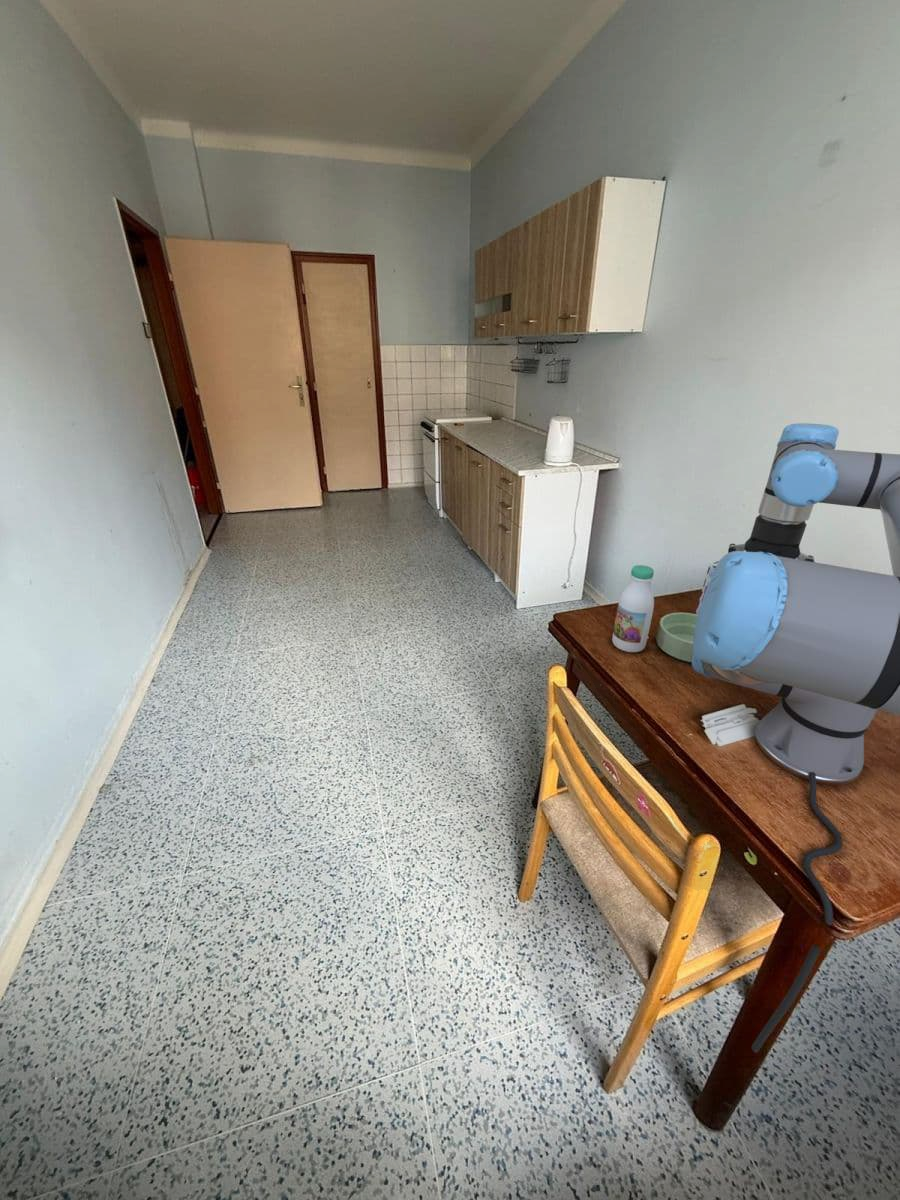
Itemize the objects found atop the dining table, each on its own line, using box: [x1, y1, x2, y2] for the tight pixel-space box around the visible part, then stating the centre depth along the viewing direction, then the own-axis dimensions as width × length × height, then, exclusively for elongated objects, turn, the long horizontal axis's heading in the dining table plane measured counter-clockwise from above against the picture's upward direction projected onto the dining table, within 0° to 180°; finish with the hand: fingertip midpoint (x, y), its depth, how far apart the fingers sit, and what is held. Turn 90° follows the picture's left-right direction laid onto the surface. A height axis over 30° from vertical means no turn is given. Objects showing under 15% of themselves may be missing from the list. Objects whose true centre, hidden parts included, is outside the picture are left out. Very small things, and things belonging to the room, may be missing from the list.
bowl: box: [655, 612, 698, 663], centre depth 111 cm, size 14×14×6 cm
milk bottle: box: [611, 564, 655, 653], centre depth 109 cm, size 8×8×20 cm
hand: (744, 631), depth 93 cm, fingers closed on brush, 4 cm apart
